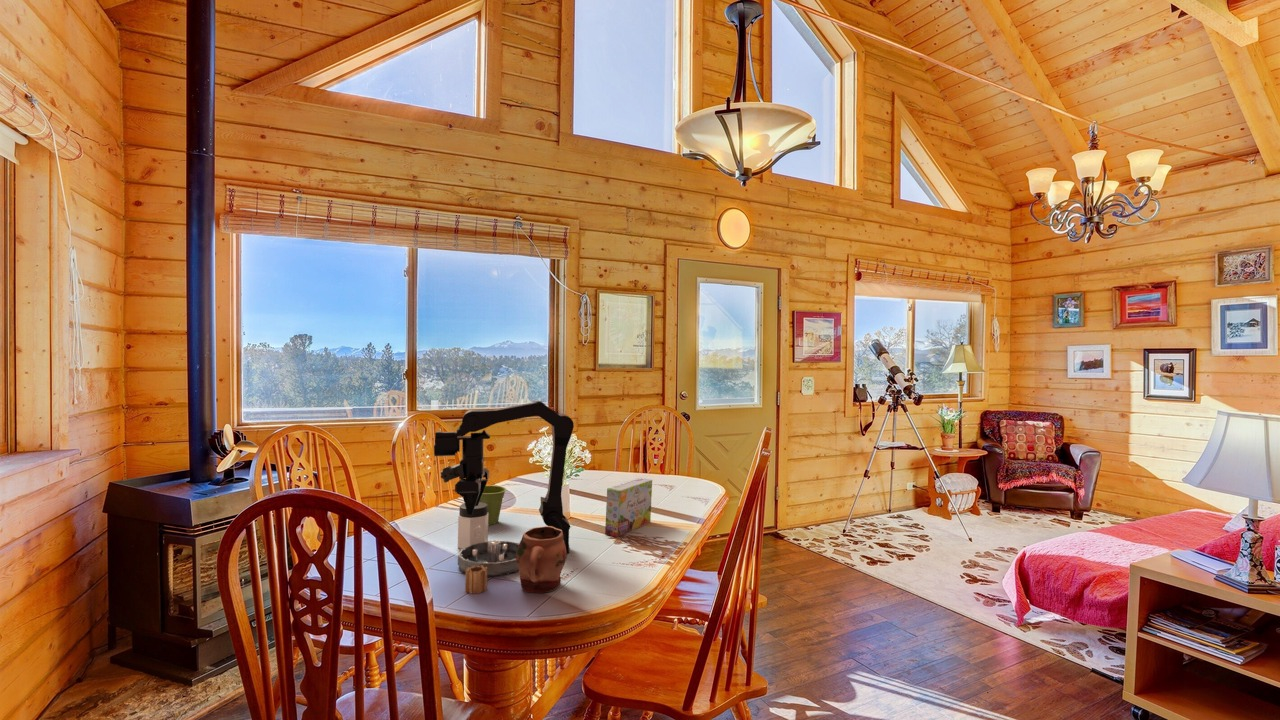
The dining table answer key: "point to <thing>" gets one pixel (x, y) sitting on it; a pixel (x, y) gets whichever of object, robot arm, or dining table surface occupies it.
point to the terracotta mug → (541, 559)
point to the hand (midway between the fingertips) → (472, 510)
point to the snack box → (628, 506)
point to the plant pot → (493, 501)
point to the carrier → (490, 557)
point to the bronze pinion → (476, 579)
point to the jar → (472, 525)
